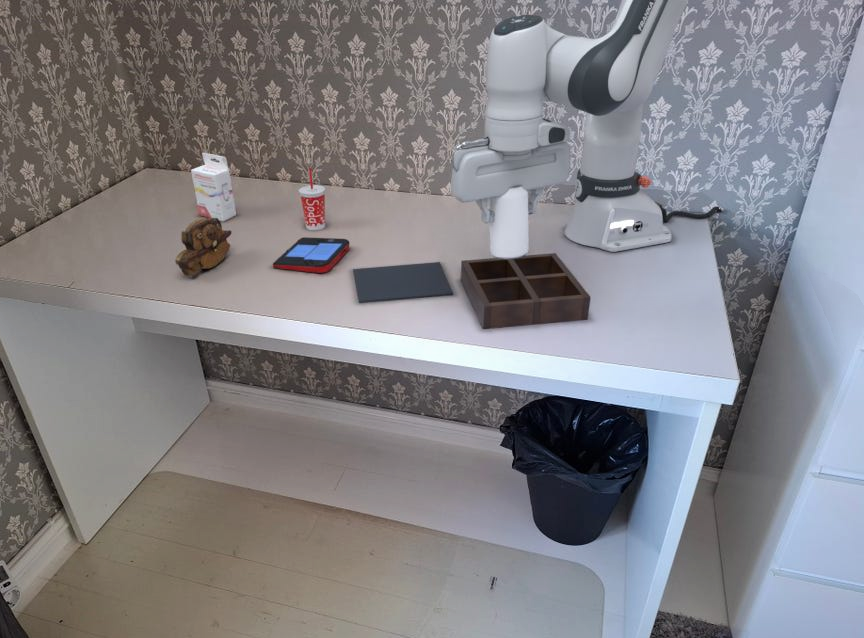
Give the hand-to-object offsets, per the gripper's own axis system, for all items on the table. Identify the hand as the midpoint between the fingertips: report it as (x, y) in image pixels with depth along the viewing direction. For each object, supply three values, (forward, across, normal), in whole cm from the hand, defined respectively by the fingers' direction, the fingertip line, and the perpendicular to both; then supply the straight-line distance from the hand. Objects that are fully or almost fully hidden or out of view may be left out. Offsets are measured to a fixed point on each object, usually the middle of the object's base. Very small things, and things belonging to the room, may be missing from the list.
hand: (508, 217), depth 113 cm
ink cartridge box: (+17, -40, +72) cm, 84 cm away
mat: (+18, -13, +19) cm, 29 cm away
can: (+6, 0, -1) cm, 7 cm away
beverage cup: (+18, -20, +55) cm, 61 cm away
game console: (+18, -25, +37) cm, 48 cm away
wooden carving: (+17, -47, +43) cm, 66 cm away
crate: (+18, +5, +3) cm, 19 cm away
